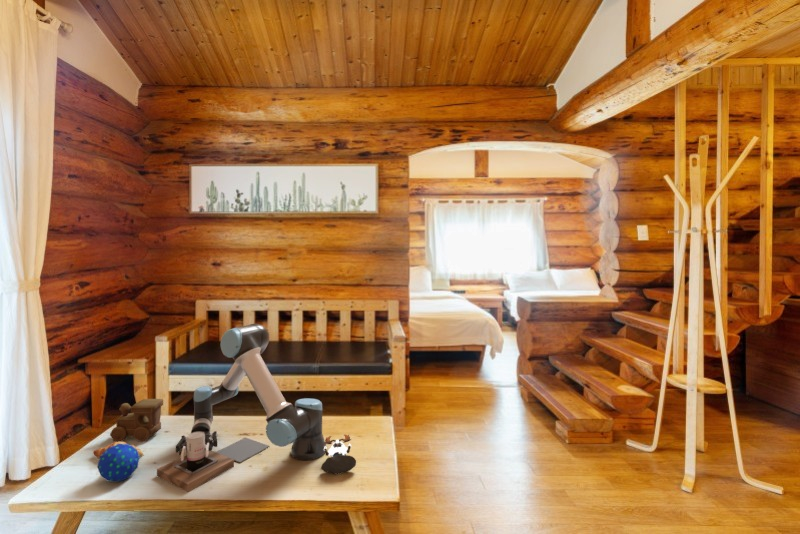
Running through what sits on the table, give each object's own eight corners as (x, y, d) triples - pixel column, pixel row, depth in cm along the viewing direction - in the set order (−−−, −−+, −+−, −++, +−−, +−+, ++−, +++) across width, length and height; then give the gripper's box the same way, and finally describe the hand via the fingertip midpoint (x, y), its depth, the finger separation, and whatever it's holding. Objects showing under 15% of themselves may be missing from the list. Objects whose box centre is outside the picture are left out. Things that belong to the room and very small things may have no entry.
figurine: (319, 462, 159) (322, 433, 176) (321, 482, 161) (323, 452, 178) (355, 458, 161) (354, 430, 178) (356, 478, 163) (355, 448, 180)
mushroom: (114, 445, 168) (131, 430, 162) (136, 471, 168) (153, 457, 162) (79, 469, 155) (96, 454, 149) (103, 498, 155) (121, 484, 149)
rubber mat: (269, 447, 183) (269, 445, 183) (240, 463, 170) (240, 462, 170) (245, 438, 191) (245, 437, 191) (215, 453, 177) (215, 452, 177)
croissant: (147, 462, 176) (152, 442, 179) (133, 463, 167) (139, 441, 170) (98, 461, 176) (104, 441, 179) (82, 461, 167) (89, 440, 170)
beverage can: (184, 471, 163) (184, 435, 162) (201, 465, 168) (201, 429, 167) (190, 477, 159) (190, 440, 158) (208, 471, 163) (207, 435, 163)
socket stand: (233, 466, 167) (233, 458, 167) (188, 491, 150) (187, 483, 149) (203, 453, 177) (203, 446, 177) (156, 476, 159) (156, 467, 159)
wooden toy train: (165, 431, 198) (164, 397, 197) (151, 442, 186) (151, 407, 186) (123, 431, 197) (122, 398, 196) (107, 442, 186) (106, 407, 185)
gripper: (226, 435, 183) (223, 460, 162) (174, 442, 176) (164, 469, 155) (226, 418, 183) (223, 441, 162) (174, 425, 176) (164, 450, 154)
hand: (194, 455), depth 158 cm, fingers open, 8 cm apart
